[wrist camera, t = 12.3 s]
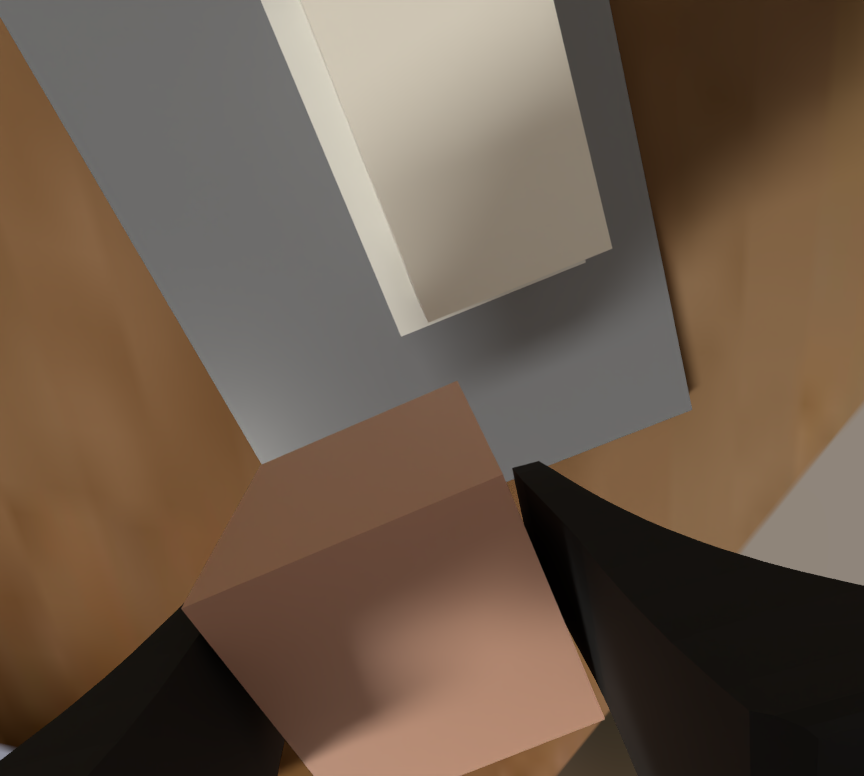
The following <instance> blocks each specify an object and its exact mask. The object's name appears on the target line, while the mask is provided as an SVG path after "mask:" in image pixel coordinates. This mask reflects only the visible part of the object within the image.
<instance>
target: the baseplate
mask: <svg viewBox="0 0 864 776" xmlns="http://www.w3.org/2000/svg"><path fill="white" fill-rule="evenodd" d="M553 1H554V5H555V9H556V13H557V18H558V22H559V26H560V30H561V34H562V39H563V43H564V47H565V51H566V56H567V60H568V64H569V68H570V72H571V77H572V81H573V85H574V89H575V93H576V98H577V102H578V106H579V110H580V114H581V119H582V123H583V127H584V131H585V135H586V140H587V144H588V148H589V152H590V156H591V161H592V165H593V169H594V173H595V177H596V182H597V186H598V190H599V194H600V198H601V203H602V207H603V211H604V215H605V219H606V224H607V228H608V232H609V236H610V240H611V245H612V249H610V250H608V251H605V252H603V253H600V254H598V255H595V256H593V257H590V258H588V259H585V260H583V261H580V262H578V263H575V264H573V265H570V266H568V267H566V268H563V269H561V270H558V271H556V272H553V273H551V274H548V275H546V276H543V277H541V278H538V279H536V280H533V281H531V282H528V283H526V284H523V285H521V286H518V287H516V288H513V289H511V290H508V291H506V292H504V293H501V294H499V295H496V296H494V297H491V298H489V299H486V300H484V301H481V302H479V303H476V304H474V305H471V306H469V307H466V308H464V309H461V310H459V311H456V312H454V313H451V314H449V315H446V316H444V317H442V318H439V319H437V320H434V321H432V322H429V323H428V321H427V319H426V317H425V315H424V313H423V311H422V309H421V307H420V304H419V302H418V300H417V298H416V295H415V293H414V290H413V288H412V285H411V283H410V280H409V278H408V275H407V272H406V270H405V267H404V265H403V262H402V260H401V257H400V255H399V252H398V250H397V247H396V245H395V242H394V240H393V237H392V234H391V232H390V229H389V227H388V224H387V222H386V219H385V217H384V214H383V212H382V209H381V207H380V204H379V202H378V199H377V196H376V194H375V191H374V189H373V186H372V184H371V181H370V179H369V176H368V174H367V171H366V169H365V166H364V164H363V161H362V158H361V156H360V153H359V151H358V148H357V146H356V143H355V141H354V138H353V136H352V133H351V131H350V128H349V126H348V123H347V120H346V118H345V115H344V113H343V110H342V108H341V105H340V103H339V100H338V98H337V95H336V93H335V90H334V88H333V85H332V82H331V80H330V77H329V75H328V72H327V70H326V67H325V65H324V62H323V60H322V57H321V55H320V52H319V50H318V47H317V44H316V42H315V39H314V37H313V34H312V32H311V29H310V27H309V24H308V22H307V19H306V17H305V14H304V12H303V9H302V6H301V4H300V1H299V0H0V17H1V19H2V21H3V22H4V24H5V26H6V28H7V29H8V31H9V33H10V34H11V36H12V38H13V39H14V41H15V43H16V45H17V46H18V48H19V50H20V51H21V53H22V55H23V57H24V58H25V60H26V62H27V63H28V65H29V67H30V69H31V70H32V72H33V74H34V75H35V77H36V79H37V81H38V82H39V84H40V86H41V87H42V89H43V91H44V93H45V94H46V96H47V98H48V99H49V101H50V103H51V105H52V106H53V108H54V110H55V111H56V113H57V115H58V116H59V118H60V120H61V122H62V123H63V125H64V127H65V128H66V130H67V132H68V134H69V135H70V137H71V139H72V140H73V142H74V144H75V146H76V147H77V149H78V151H79V152H80V154H81V156H82V158H83V159H84V161H85V163H86V164H87V166H88V168H89V170H90V171H91V173H92V175H93V176H94V178H95V180H96V181H97V183H98V185H99V187H100V188H101V190H102V192H103V193H104V195H105V197H106V199H107V200H108V202H109V204H110V205H111V207H112V209H113V211H114V212H115V214H116V216H117V217H118V219H119V221H120V223H121V224H122V226H123V228H124V229H125V231H126V233H127V235H128V236H129V238H130V240H131V241H132V243H133V245H134V247H135V248H136V250H137V252H138V253H139V255H140V257H141V258H142V260H143V262H144V264H145V265H146V267H147V269H148V270H149V272H150V274H151V276H152V277H153V279H154V281H155V282H156V284H157V286H158V288H159V289H160V291H161V293H162V294H163V296H164V298H165V300H166V301H167V303H168V305H169V306H170V308H171V310H172V312H173V313H174V315H175V317H176V318H177V320H178V322H179V324H180V325H181V327H182V329H183V330H184V332H185V334H186V335H187V337H188V339H189V341H190V342H191V344H192V346H193V347H194V349H195V351H196V353H197V354H198V356H199V358H200V359H201V361H202V363H203V365H204V366H205V368H206V370H207V371H208V373H209V375H210V377H211V378H212V380H213V382H214V383H215V385H216V387H217V389H218V390H219V392H220V394H221V395H222V397H223V399H224V401H225V402H226V404H227V406H228V407H229V409H230V411H231V412H232V414H233V416H234V418H235V419H236V421H237V423H238V424H239V426H240V428H241V430H242V431H243V433H244V435H245V436H246V438H247V440H248V442H249V443H250V445H251V447H252V448H253V450H254V452H255V454H256V455H257V457H258V459H259V460H260V462H261V464H264V463H266V462H269V461H271V460H273V459H276V458H278V457H280V456H283V455H285V454H287V453H290V452H292V451H294V450H297V449H299V448H301V447H304V446H306V445H308V444H311V443H313V442H315V441H318V440H320V439H322V438H325V437H327V436H329V435H332V434H334V433H336V432H339V431H341V430H343V429H346V428H348V427H350V426H353V425H355V424H357V423H360V422H362V421H364V420H367V419H369V418H371V417H374V416H376V415H378V414H381V413H383V412H385V411H388V410H390V409H392V408H395V407H397V406H399V405H402V404H404V403H406V402H409V401H411V400H413V399H416V398H418V397H420V396H423V395H425V394H427V393H430V392H432V391H434V390H437V389H439V388H441V387H444V386H446V385H448V384H451V383H453V382H455V381H458V383H459V385H460V387H461V389H462V391H463V393H464V395H465V397H466V399H467V401H468V404H469V406H470V408H471V410H472V412H473V414H474V416H475V418H476V420H477V422H478V424H479V426H480V428H481V430H482V432H483V434H484V436H485V439H486V441H487V443H488V445H489V447H490V449H491V451H492V453H493V455H494V457H495V459H496V461H497V463H498V465H499V467H500V469H501V471H502V473H503V476H504V478H505V481H506V482H507V481H510V480H512V479H514V475H513V470H512V468H514V467H518V466H522V465H525V464H529V463H533V462H537V461H540V462H541V463H543V464H545V465H546V466H548V465H551V464H554V463H556V462H559V461H561V460H564V459H566V458H569V457H572V456H574V455H577V454H579V453H582V452H584V451H587V450H590V449H592V448H595V447H597V446H600V445H602V444H605V443H608V442H610V441H613V440H615V439H618V438H621V437H623V436H626V435H628V434H631V433H633V432H636V431H639V430H641V429H644V428H646V427H649V426H651V425H654V424H657V423H659V422H662V421H664V420H667V419H669V418H672V417H675V416H677V415H680V414H682V413H685V412H688V411H690V410H692V407H691V402H690V397H689V392H688V387H687V382H686V377H685V372H684V367H683V362H682V357H681V353H680V348H679V343H678V338H677V333H676V328H675V323H674V318H673V313H672V308H671V303H670V298H669V293H668V289H667V284H666V279H665V274H664V269H663V264H662V259H661V254H660V249H659V244H658V239H657V234H656V229H655V224H654V220H653V215H652V210H651V205H650V200H649V195H648V190H647V185H646V180H645V175H644V170H643V165H642V160H641V155H640V151H639V146H638V141H637V136H636V131H635V126H634V121H633V116H632V111H631V106H630V101H629V96H628V91H627V86H626V82H625V77H624V72H623V67H622V62H621V57H620V52H619V47H618V42H617V37H616V32H615V27H614V22H613V18H612V13H611V8H610V3H609V0H553Z"/></svg>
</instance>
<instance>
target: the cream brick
mask: <svg viewBox="0 0 864 776" xmlns="http://www.w3.org/2000/svg"><path fill="white" fill-rule="evenodd" d="M299 1H300V4H301V6H302V9H303V12H304V14H305V17H306V19H307V22H308V24H309V27H310V29H311V32H312V34H313V37H314V39H315V42H316V44H317V47H318V50H319V52H320V55H321V57H322V60H323V62H324V65H325V67H326V70H327V72H328V75H329V77H330V80H331V82H332V85H333V88H334V90H335V93H336V95H337V98H338V100H339V103H340V105H341V108H342V110H343V113H344V115H345V118H346V120H347V123H348V126H349V128H350V131H351V133H352V136H353V138H354V141H355V143H356V146H357V148H358V151H359V153H360V156H361V158H362V161H363V164H364V166H365V169H366V171H367V174H368V176H369V179H370V181H371V184H372V186H373V189H374V191H375V194H376V196H377V199H378V202H379V204H380V207H381V209H382V212H383V214H384V217H385V219H386V222H387V224H388V227H389V229H390V232H391V234H392V237H393V240H394V242H395V245H396V247H397V250H398V252H399V255H400V257H401V260H402V262H403V265H404V267H405V270H406V272H407V275H408V278H409V280H410V283H411V285H412V288H413V290H414V293H415V295H416V298H417V300H418V302H419V304H420V307H421V309H422V311H423V313H424V315H425V317H426V319H427V321H428V323H429V322H432V321H434V320H437V319H439V318H442V317H444V316H446V315H449V314H451V313H454V312H456V311H459V310H461V309H464V308H466V307H469V306H471V305H474V304H476V303H479V302H481V301H484V300H486V299H489V298H491V297H494V296H496V295H499V294H501V293H504V292H506V291H508V290H511V289H513V288H516V287H518V286H521V285H523V284H526V283H528V282H531V281H533V280H536V279H538V278H541V277H543V276H546V275H548V274H551V273H553V272H556V271H558V270H561V269H563V268H566V267H568V266H570V265H573V264H575V263H578V262H580V261H583V260H585V259H588V258H590V257H593V256H595V255H598V254H600V253H603V252H605V251H608V250H610V249H612V245H611V240H610V236H609V232H608V228H607V224H606V219H605V215H604V211H603V207H602V203H601V198H600V194H599V190H598V186H597V182H596V177H595V173H594V169H593V165H592V161H591V156H590V152H589V148H588V144H587V140H586V135H585V131H584V127H583V123H582V119H581V114H580V110H579V106H578V102H577V98H576V93H575V89H574V85H573V81H572V77H571V72H570V68H569V64H568V60H567V56H566V51H565V47H564V43H563V39H562V34H561V30H560V26H559V22H558V18H557V13H556V9H555V5H554V1H553V0H299Z"/></svg>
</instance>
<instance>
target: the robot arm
mask: <svg viewBox="0 0 864 776" xmlns="http://www.w3.org/2000/svg"><path fill="white" fill-rule="evenodd" d="M512 470H513V475H514V479H515V484H516V489H517V494H518V498H519V503H520V508H521V512H522V517H523V522H524V526H525V529H526V531H527V533H528V536H529V538H530V540H531V543H532V545H533V548H534V550H535V552H536V555H537V557H538V560H539V562H540V564H541V567H542V569H543V572H544V574H545V576H546V579H547V581H548V584H549V586H550V588H551V591H552V593H553V596H554V598H555V600H556V603H557V605H558V608H559V610H560V612H561V615H562V617H563V620H564V622H565V624H566V626H567V628H568V630H569V632H570V633H571V635H572V637H573V639H574V641H575V643H576V645H577V646H578V648H579V650H580V652H581V654H582V656H583V658H584V659H585V661H586V663H587V665H588V667H589V669H590V671H591V673H592V674H593V676H594V678H595V680H596V682H597V684H598V686H599V688H600V690H601V692H602V694H603V696H604V698H605V701H606V703H607V705H608V707H609V709H610V712H611V714H612V716H613V718H614V721H615V723H616V726H617V728H618V730H619V732H620V734H621V737H622V740H623V742H624V744H625V746H626V749H627V751H628V753H629V756H630V758H631V760H632V763H633V765H634V768H635V770H636V772H637V775H638V776H864V586H862V585H858V584H853V583H849V582H844V581H840V580H836V579H831V578H827V577H823V576H818V575H814V574H810V573H805V572H801V571H797V570H793V569H790V568H785V567H782V566H778V565H774V564H771V563H767V562H763V561H760V560H757V559H753V558H750V557H747V556H743V555H740V554H737V553H734V552H730V551H727V550H724V549H721V548H718V547H715V546H712V545H709V544H706V543H703V542H700V541H697V540H695V539H692V538H690V537H687V536H684V535H682V534H679V533H677V532H674V531H671V530H669V529H666V528H664V527H661V526H659V525H657V524H654V523H652V522H649V521H647V520H645V519H643V518H641V517H639V516H637V515H634V514H632V513H630V512H628V511H626V510H624V509H622V508H620V507H618V506H616V505H614V504H612V503H610V502H608V501H606V500H604V499H602V498H600V497H599V496H597V495H595V494H593V493H591V492H590V491H588V490H586V489H584V488H583V487H581V486H579V485H578V484H576V483H574V482H573V481H571V480H569V479H568V478H566V477H564V476H563V475H561V474H559V473H558V472H556V471H555V470H553V469H551V468H550V467H548V466H546V465H545V464H543V463H541V462H540V461H537V462H533V463H529V464H525V465H522V466H518V467H514V468H512ZM182 606H183V605H182ZM182 606H181V607H180V608H179V609H178V610H177V611H176V612H175V613H174V614H173V615H172V616H170V617H169V618H168V619H167V620H166V621H165V622H164V623H163V624H162V625H161V626H160V627H159V628H158V629H157V630H156V631H155V632H154V633H153V634H152V635H151V636H150V637H149V638H147V639H146V640H145V641H144V642H143V643H142V644H141V645H140V646H139V647H138V648H137V649H136V650H135V651H134V652H133V653H132V654H131V655H130V656H128V657H127V658H126V659H125V660H124V661H123V662H122V663H121V664H120V665H118V666H117V667H116V668H115V669H114V670H113V671H112V672H111V673H109V674H108V675H107V676H106V677H105V678H104V679H103V680H101V681H100V682H99V683H98V684H97V685H95V686H94V687H93V688H92V689H91V690H89V691H88V692H87V693H86V694H85V695H83V696H82V697H81V698H80V699H79V700H78V701H76V702H75V703H74V704H73V705H72V706H70V707H69V708H68V709H67V710H65V711H64V712H63V713H62V714H60V715H59V716H58V717H57V718H55V719H54V720H53V721H51V722H50V723H49V724H47V725H46V726H45V727H44V728H42V729H41V730H40V731H38V732H37V733H36V734H34V735H33V736H32V737H30V738H29V739H28V740H26V741H25V742H24V743H23V744H21V745H20V746H19V747H17V748H16V749H15V750H13V751H12V752H11V753H9V754H8V755H7V756H6V757H4V758H3V759H2V760H0V776H277V775H278V769H279V764H280V759H281V755H282V750H283V745H284V741H285V739H284V737H283V736H282V735H281V734H280V732H279V731H278V730H277V729H276V727H275V726H274V725H273V724H272V722H271V721H270V720H269V719H268V717H267V716H266V715H265V714H264V712H263V711H262V710H261V709H260V707H259V706H258V705H257V704H256V702H255V701H254V700H253V698H252V697H251V696H250V695H249V693H248V692H247V691H246V690H245V688H244V687H243V686H242V685H241V683H240V682H239V681H238V680H237V678H236V677H235V676H234V675H233V673H232V672H231V671H230V670H229V668H228V667H227V666H226V665H225V663H224V662H223V661H222V659H221V658H220V657H219V656H218V654H217V653H216V652H215V651H214V649H213V648H212V647H211V646H210V644H209V643H208V642H207V641H206V639H205V638H204V637H203V636H202V634H201V633H200V632H199V631H198V629H197V628H196V627H195V626H194V624H193V623H192V622H191V620H190V619H189V618H188V617H187V615H186V614H185V613H184V612H183V610H182V609H181V608H182Z"/></svg>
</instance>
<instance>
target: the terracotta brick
mask: <svg viewBox="0 0 864 776" xmlns="http://www.w3.org/2000/svg"><path fill="white" fill-rule="evenodd" d="M181 609H182V610H183V612H184V613H185V614H186V615H187V617H188V618H189V619H190V620H191V622H192V623H193V624H194V626H195V627H196V628H197V629H198V631H199V632H200V633H201V634H202V636H203V637H204V638H205V639H206V641H207V642H208V643H209V644H210V646H211V647H212V648H213V649H214V651H215V652H216V653H217V654H218V656H219V657H220V658H221V659H222V661H223V662H224V663H225V665H226V666H227V667H228V668H229V670H230V671H231V672H232V673H233V675H234V676H235V677H236V678H237V680H238V681H239V682H240V683H241V685H242V686H243V687H244V688H245V690H246V691H247V692H248V693H249V695H250V696H251V697H252V698H253V700H254V701H255V702H256V704H257V705H258V706H259V707H260V709H261V710H262V711H263V712H264V714H265V715H266V716H267V717H268V719H269V720H270V721H271V722H272V724H273V725H274V726H275V727H276V729H277V730H278V731H279V732H280V734H281V735H282V736H283V737H284V739H285V740H286V741H287V743H288V744H289V745H290V746H291V748H292V749H293V750H294V751H295V753H296V754H297V755H298V756H299V758H300V759H301V760H302V761H303V763H304V764H305V765H306V766H307V768H308V769H309V770H310V771H311V773H312V774H313V775H314V776H461V775H463V774H466V773H469V772H471V771H474V770H476V769H479V768H481V767H484V766H487V765H489V764H492V763H494V762H497V761H499V760H502V759H504V758H507V757H510V756H512V755H515V754H517V753H520V752H522V751H525V750H527V749H530V748H533V747H535V746H538V745H540V744H543V743H545V742H548V741H551V740H553V739H556V738H558V737H561V736H563V735H566V734H568V733H571V732H574V731H576V730H579V729H581V728H584V727H586V726H589V725H592V724H594V723H597V722H599V721H602V720H604V719H605V718H604V716H603V713H602V711H601V708H600V706H599V704H598V701H597V699H596V696H595V694H594V692H593V689H592V687H591V684H590V682H589V680H588V677H587V675H586V672H585V670H584V668H583V665H582V663H581V660H580V658H579V656H578V653H577V651H576V648H575V646H574V644H573V641H572V639H571V636H570V634H569V632H568V629H567V627H566V624H565V622H564V620H563V617H562V615H561V612H560V610H559V608H558V605H557V603H556V600H555V598H554V596H553V593H552V591H551V588H550V586H549V584H548V581H547V579H546V576H545V574H544V572H543V569H542V567H541V564H540V562H539V560H538V557H537V555H536V552H535V550H534V548H533V545H532V543H531V540H530V538H529V536H528V533H527V531H526V529H525V526H524V524H523V521H522V519H521V517H520V514H519V512H518V509H517V507H516V505H515V502H514V500H513V497H512V495H511V493H510V490H509V488H508V485H507V483H506V481H505V478H504V476H503V473H502V471H501V469H500V467H499V465H498V463H497V461H496V459H495V457H494V455H493V453H492V451H491V449H490V447H489V445H488V443H487V441H486V439H485V436H484V434H483V432H482V430H481V428H480V426H479V424H478V422H477V420H476V418H475V416H474V414H473V412H472V410H471V408H470V406H469V404H468V401H467V399H466V397H465V395H464V393H463V391H462V389H461V387H460V385H459V383H458V381H455V382H453V383H451V384H448V385H446V386H444V387H441V388H439V389H437V390H434V391H432V392H430V393H427V394H425V395H423V396H420V397H418V398H416V399H413V400H411V401H409V402H406V403H404V404H402V405H399V406H397V407H395V408H392V409H390V410H388V411H385V412H383V413H381V414H378V415H376V416H374V417H371V418H369V419H367V420H364V421H362V422H360V423H357V424H355V425H353V426H350V427H348V428H346V429H343V430H341V431H339V432H336V433H334V434H332V435H329V436H327V437H325V438H322V439H320V440H318V441H315V442H313V443H311V444H308V445H306V446H304V447H301V448H299V449H297V450H294V451H292V452H290V453H287V454H285V455H283V456H280V457H278V458H276V459H273V460H271V461H269V462H266V463H264V464H262V465H260V467H259V469H258V471H257V472H256V474H255V476H254V478H253V480H252V482H251V483H250V485H249V487H248V489H247V491H246V492H245V494H244V496H243V498H242V500H241V501H240V503H239V505H238V507H237V509H236V510H235V512H234V514H233V516H232V518H231V519H230V521H229V523H228V525H227V527H226V528H225V530H224V532H223V534H222V536H221V538H220V539H219V541H218V543H217V545H216V547H215V548H214V550H213V552H212V554H211V556H210V557H209V559H208V561H207V563H206V565H205V566H204V568H203V570H202V572H201V574H200V575H199V577H198V579H197V581H196V583H195V585H194V586H193V588H192V590H191V592H190V594H189V595H188V597H187V599H186V601H185V603H184V604H183V606H182V608H181Z"/></svg>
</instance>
